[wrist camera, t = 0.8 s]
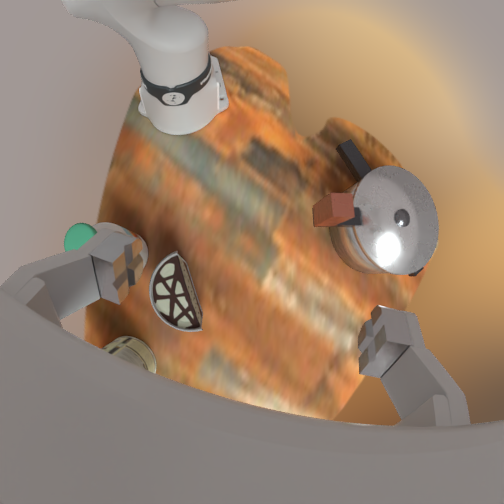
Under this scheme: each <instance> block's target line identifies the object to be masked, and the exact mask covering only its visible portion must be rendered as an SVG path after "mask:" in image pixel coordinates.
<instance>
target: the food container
mask: <svg viewBox="0 0 504 504" xmlns="http://www.w3.org/2000/svg"><path fill="white" fill-rule="evenodd" d="M177 252H178V251H175V252H173V253H171V254H169V255H168V256H166V257H165V258H164V259H163V260H161V262H160V263H159V264H158V265H157V267H156V268H155V270H154V272H153V274H152V276H151V280H150V286H149V294H150V300H151V303H152V306H153V308H154V310H155V312H156V313H157V315H158V316H159V317H160V318H161V319H162V320H163V321H164V322H165V323H166V324H168V325H169V326H171V327H173V328H175V329H178V330H181V331H187V332H194V331H201V330H203V329H201V326H202V317H203V312H202V309H201V306H200V303H199V300H198V297H197V294H196V291H195V288H194V285H193V281H192V278H191V275H190V272H189V268H188V265H187V262H186V261H185V260H184V259H183V258H182V257H181V256H180V255H179V254H177Z"/></svg>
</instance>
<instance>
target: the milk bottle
mask: <svg viewBox="0 0 504 504" xmlns="http://www.w3.org/2000/svg"><path fill="white" fill-rule="evenodd" d="M102 228H109V229H112V230H115V231H119V232H122V233H125V234H128V235H131V236H134V237H137V238H139V239H140V240H141V241H142V248H143V249H142V250H141V252H140V253H139V254H140V255H141V257H142V258H143V268H144V266H145V265H146V263H147V260H148V248H147V245H146V243H145V241H144V240H143V239H142V238H141V237H140V236H139V235H137V234H135V233H133V232H131V231H129V230H127V229H125V228H123V227H121V226H119V225H116V224H113V223H108V222H103V223H98V224H95V225H93V226H90V225H89V224H86V223H78V224H75V225H73V226H72V227H71V228H70V229H69V230H68V231H67V234H66V236H65V240H64V247H65V251H70V250H73V249H75V250H78V249H79V248H80V247H81V246H82V245H84V244H85V243H86V242H87V241H88V240H89V239H91V238H92V237H93V236H94V235H95V234H96V233H98V232H99V231H100V230H101V229H102Z"/></svg>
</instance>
